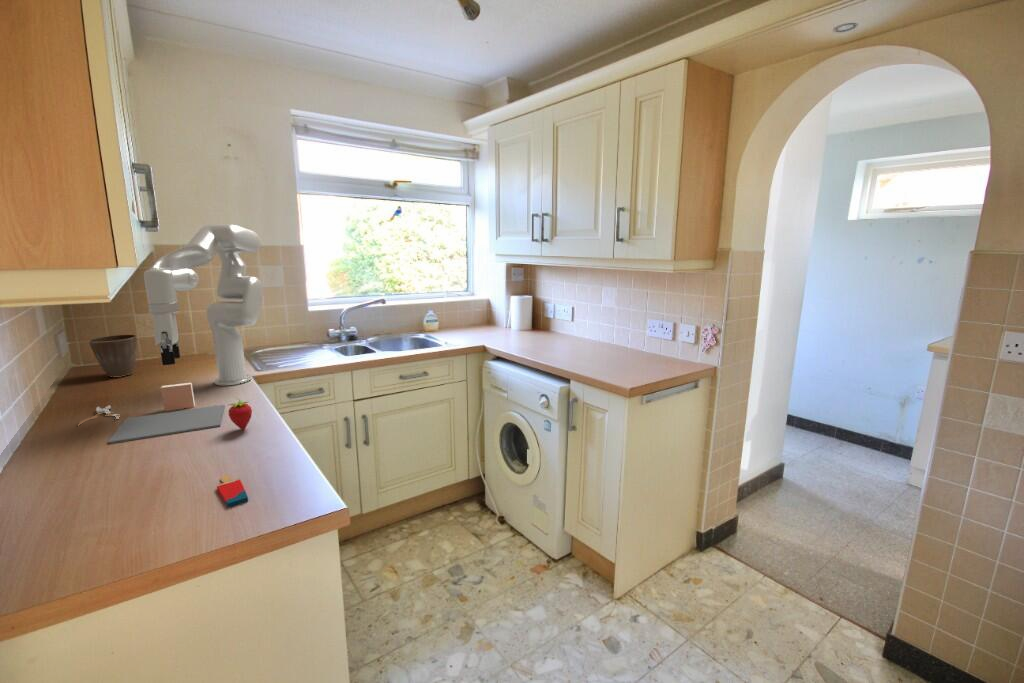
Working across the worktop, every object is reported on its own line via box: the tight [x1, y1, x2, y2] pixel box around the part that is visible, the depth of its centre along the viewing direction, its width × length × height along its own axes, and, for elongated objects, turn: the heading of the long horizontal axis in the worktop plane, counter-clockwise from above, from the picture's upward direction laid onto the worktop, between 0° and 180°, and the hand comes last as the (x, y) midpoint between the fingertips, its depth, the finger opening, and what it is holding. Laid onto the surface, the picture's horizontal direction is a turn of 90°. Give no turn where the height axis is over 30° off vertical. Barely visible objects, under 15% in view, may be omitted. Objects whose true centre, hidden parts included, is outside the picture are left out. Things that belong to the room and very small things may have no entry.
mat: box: [107, 404, 226, 445], centre depth 140 cm, size 20×26×1 cm
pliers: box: [95, 405, 121, 420], centre depth 146 cm, size 10×2×15 cm
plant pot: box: [88, 334, 138, 377], centre depth 190 cm, size 15×15×16 cm
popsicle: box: [216, 474, 249, 509], centre depth 102 cm, size 4×2×15 cm
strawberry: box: [227, 397, 253, 431], centre depth 134 cm, size 6×8×10 cm
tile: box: [160, 382, 196, 412], centre depth 152 cm, size 2×8×8 cm, turn 118°
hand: (171, 361), depth 150 cm, fingers open, 9 cm apart
